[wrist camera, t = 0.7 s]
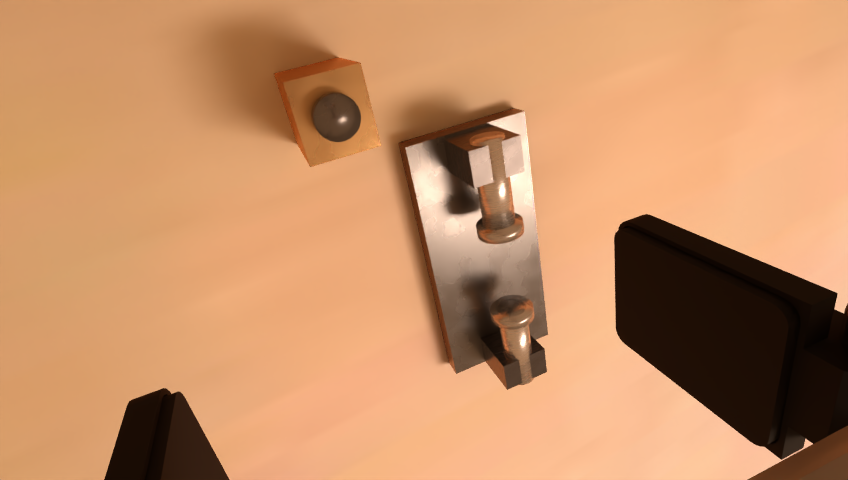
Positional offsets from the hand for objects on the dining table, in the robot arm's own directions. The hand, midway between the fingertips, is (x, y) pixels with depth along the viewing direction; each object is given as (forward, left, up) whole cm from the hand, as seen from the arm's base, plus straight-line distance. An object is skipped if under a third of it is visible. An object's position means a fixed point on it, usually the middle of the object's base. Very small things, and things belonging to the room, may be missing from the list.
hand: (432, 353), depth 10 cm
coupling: (-2, +2, -24) cm, 24 cm away
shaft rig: (+12, +11, -24) cm, 29 cm away
